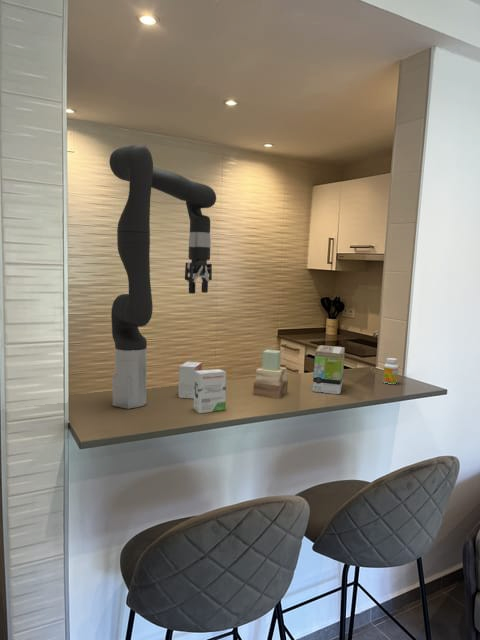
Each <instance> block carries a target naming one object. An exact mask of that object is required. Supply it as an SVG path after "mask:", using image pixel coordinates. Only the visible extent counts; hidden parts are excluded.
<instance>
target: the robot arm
mask: <svg viewBox="0 0 480 640" xmlns="http://www.w3.org/2000/svg"><path fill="white" fill-rule="evenodd" d="M108 163H109V167H110V170H111V172H112V174H113V175H114V176H115V177H116V178H118V179H120V180H123V181H125V182H126V181H127V182H129V191H128V197H127V200H126V203H125V206H124V208H123V210H122V212H121V214H120V217H119V219H118V223H117V230H116V231H117V234H116V236H117V237H116V239H117V241H116V242H117V243H116V244H117V252H118V256H119V258H120V260H121V262H122V263H121V264H122V265H123V267H124V269H125V272H126V276H127V279H128V293H123V294H120V295H118V296H116V297H115V299H114V301H113V302H112V304H111V305H112V306H111V335H112V340H113V342H114V374H113V375H112V406H113V407H118V408H122V409H127V410H129V409H134V408H141V407H143V406H145V405H146V404H147V356H148V355H147V352H148V351H147V349H148V348H147V346H148V344H147V339H146V337H145V336H144V335H142V334H141V331H140V330H139V327H140V328H141V327H145V326H147V324H148V323H149V322H150V321H151V318H152V316H153V309H154V308H153V296H152V288H151V287H152V286H151V267H150V266H151V265H150V264H151V261H150V260H151V259H150V253H151V252H150V250H151V249H150V248H151V226H150V225H151V224H150V220H151V219H150V218H151V217H150V215H151V195H152V189H155V190H157V191H160V192H162V193H164V194H167V195H169V196H170V197H171V196H172V197H173V198H176V199H177V200H180V201H182V202H183V201H184V202H185V205H186V209H187V214H188V217H189V236H188V258H187V259H188V260H190V262H185V269H184V281H187V282H188V294H196V286H197V285H196V281H197V279H198V278H200V280H201V293H204V294H207V293H208V292H209V291H208V290H209V282H210V281H212V280H213V276H212V275H213V274H212V273H213V271H212V270H213V267H212V265H213V264H212V263H208V262H207V261H210V260H211V244H212V243H211V242H212V241H211V218H210V216H208V215H204V214H203V213H202V209H207V208H209V209H210V208H211V207H213V206H214V205H215V204H216V202H217V195H216V192H215V190H214V189H213V188H212V187H211V186H209V185H207V184H203V183H200V182H196V181H192V180H190V179H188V178H186V177H184V176H182V175H181V174H178V173H176V172H174V171H169V170H166V169H161V168H157V167H154V160H153V157H152V153H151V151H150V150H149V148H148V147H146V145H143V144H133V145H129V146H123V147H119V148H116V149H115V150H114V151H112V153H111V154H110V157H109V162H108Z"/></svg>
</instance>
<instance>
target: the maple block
mask: <svg viewBox="0 0 480 640" xmlns="http://www.w3.org/2000/svg"><path fill="white" fill-rule="evenodd" d="M286 380H287V367H282V366H280V369H278V370H277V371H272V370H263V369H262V366H261V367H258V368H257V369H256V370H255V382H256V383H262V384H269V385H276V386H279V385H280V384H282V383H283V382H285V381H286Z"/></svg>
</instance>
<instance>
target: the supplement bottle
mask: <svg viewBox="0 0 480 640" xmlns="http://www.w3.org/2000/svg"><path fill="white" fill-rule="evenodd" d="M385 361H386V363H385V364H384V365H383V378H382V383H383V382H384V383H383V384H385V383H388V384H396V383H397V384H398V381H399V365H398V358H395V357H387V358H386V360H385ZM388 384H387V385H388ZM397 384H396V385H397Z"/></svg>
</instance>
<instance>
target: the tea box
mask: <svg viewBox="0 0 480 640" xmlns="http://www.w3.org/2000/svg"><path fill="white" fill-rule="evenodd" d="M345 350H346V347H342V346H332V345H322V344H321V345H318V346H317V348H316V350H315V352H314V363H313V364H314V365H313V378H312V389H311V390H312V392H316V393H322V392H323V393H325V394H333V395H340V394H341V390H342V387H343V379H344V378H343V377H344V365H345V352H346V351H345Z"/></svg>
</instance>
